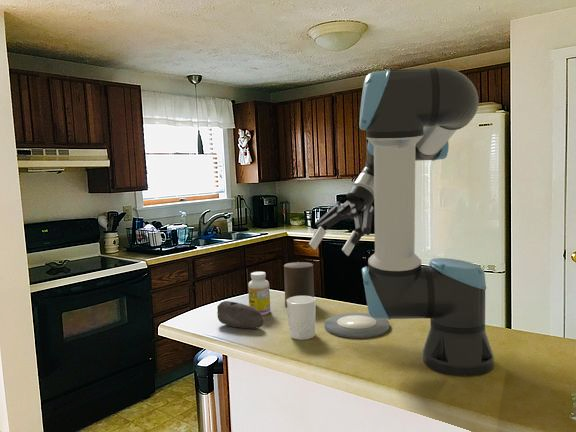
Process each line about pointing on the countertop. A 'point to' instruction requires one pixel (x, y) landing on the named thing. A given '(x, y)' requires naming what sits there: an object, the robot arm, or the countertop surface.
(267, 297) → the supplement bottle
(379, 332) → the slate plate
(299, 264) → the pillar candle
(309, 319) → the white cup
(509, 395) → the countertop surface
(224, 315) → the perforated stone tool
